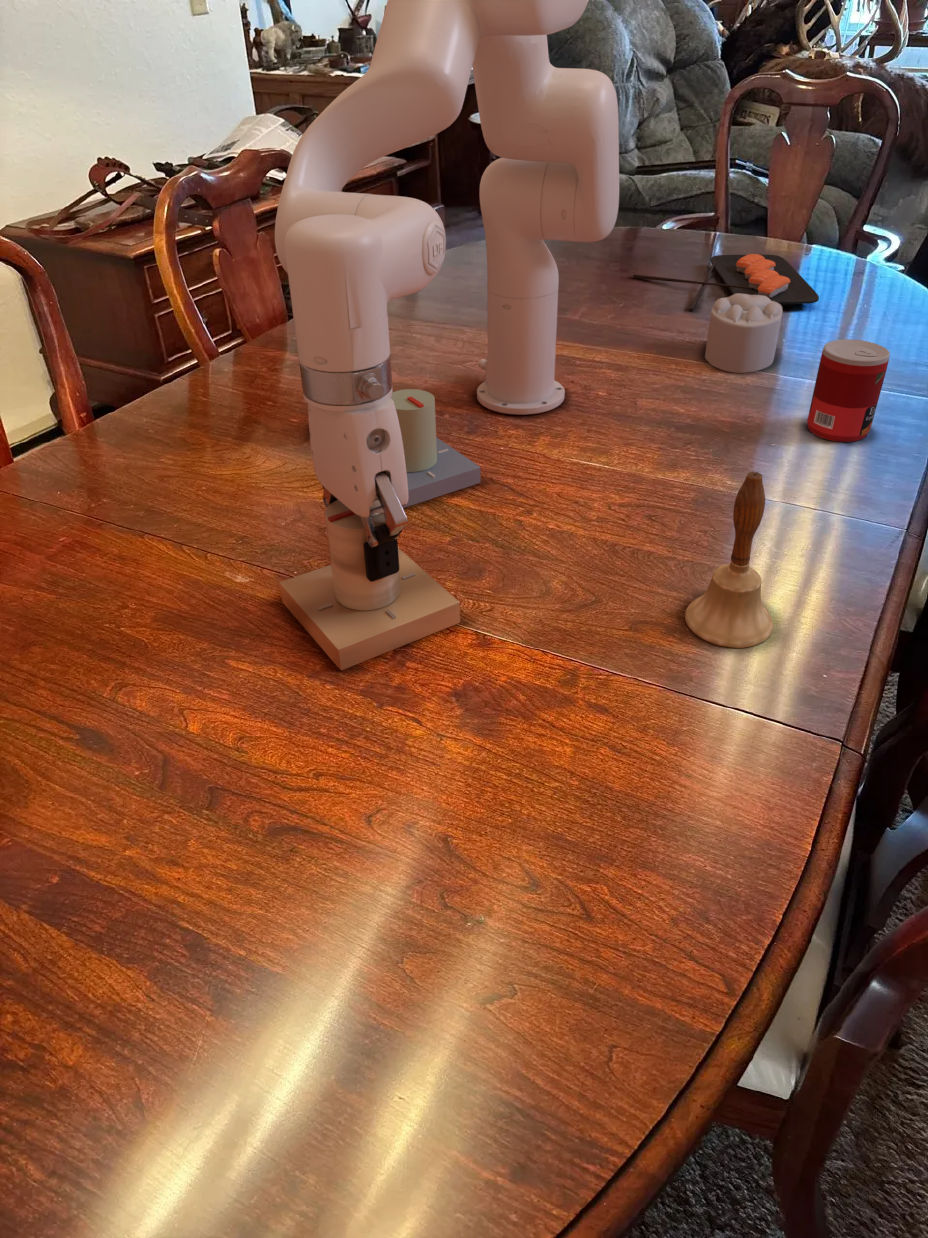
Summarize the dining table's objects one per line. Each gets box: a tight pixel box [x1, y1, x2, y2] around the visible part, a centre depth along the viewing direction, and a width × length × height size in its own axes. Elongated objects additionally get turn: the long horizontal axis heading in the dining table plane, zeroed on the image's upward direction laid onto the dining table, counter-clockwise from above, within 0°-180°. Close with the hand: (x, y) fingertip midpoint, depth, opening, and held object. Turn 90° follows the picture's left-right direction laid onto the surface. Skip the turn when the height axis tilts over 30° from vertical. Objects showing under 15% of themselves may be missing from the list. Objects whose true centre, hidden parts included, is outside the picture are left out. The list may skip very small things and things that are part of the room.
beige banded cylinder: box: [324, 500, 401, 611], centre depth 87 cm, size 6×6×9 cm
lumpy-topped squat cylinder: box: [704, 293, 783, 374], centre depth 141 cm, size 10×13×9 cm
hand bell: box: [684, 471, 774, 649], centre depth 84 cm, size 8×8×16 cm
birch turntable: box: [278, 547, 461, 672], centre depth 90 cm, size 13×13×3 cm
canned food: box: [806, 339, 891, 443], centre depth 119 cm, size 8×8×11 cm
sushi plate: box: [632, 253, 820, 312], centre depth 171 cm, size 29×30×4 cm
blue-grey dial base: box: [402, 436, 482, 509], centre depth 113 cm, size 12×12×2 cm
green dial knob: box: [390, 388, 437, 472], centre depth 110 cm, size 6×6×8 cm
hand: (364, 557), depth 87 cm, fingers closed on beige banded cylinder, 6 cm apart
